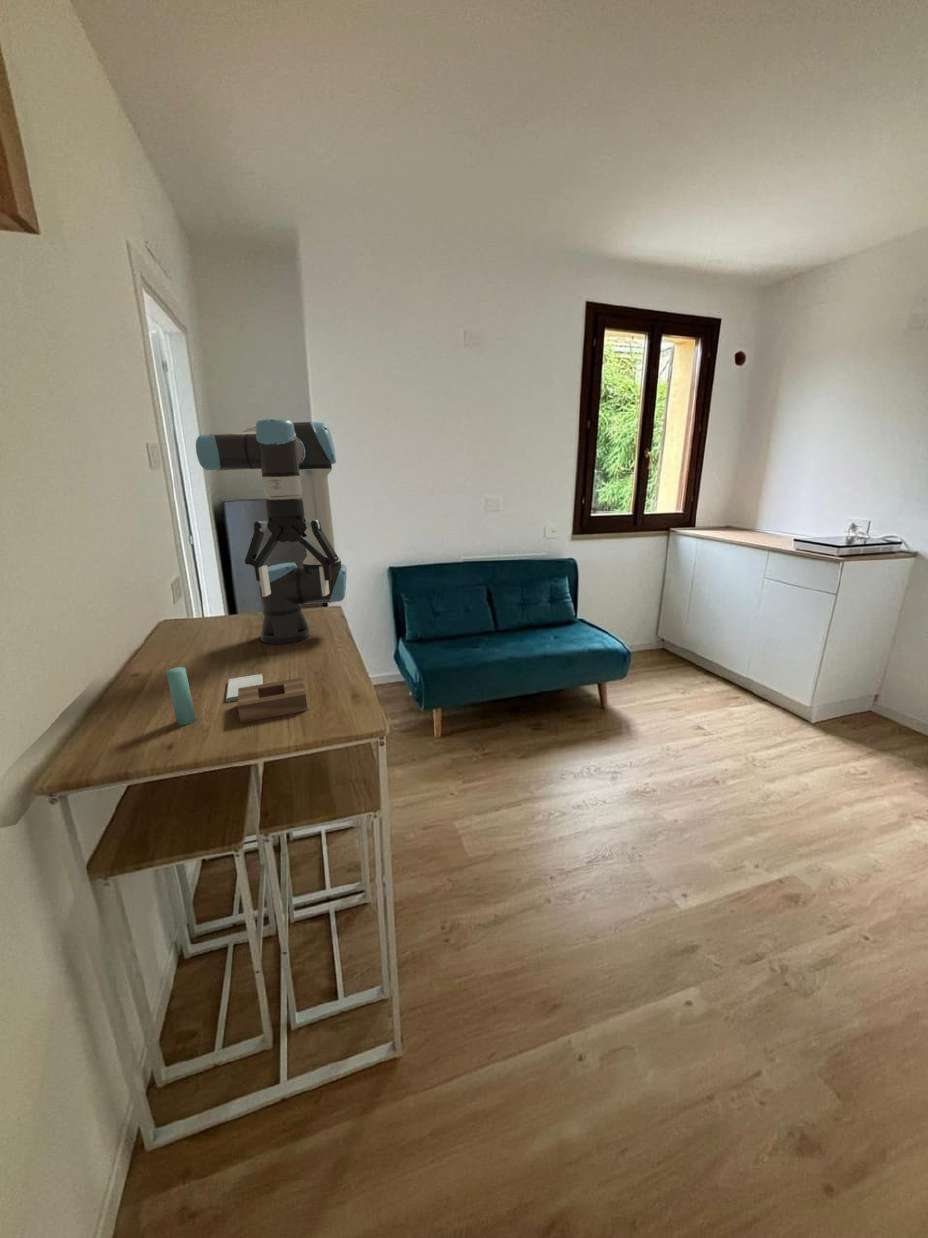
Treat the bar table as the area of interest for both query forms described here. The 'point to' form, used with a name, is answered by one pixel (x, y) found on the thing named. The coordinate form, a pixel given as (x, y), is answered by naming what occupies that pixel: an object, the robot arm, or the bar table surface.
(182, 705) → the peg
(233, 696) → the hard drive
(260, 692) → the socket block
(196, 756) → the bar table surface
